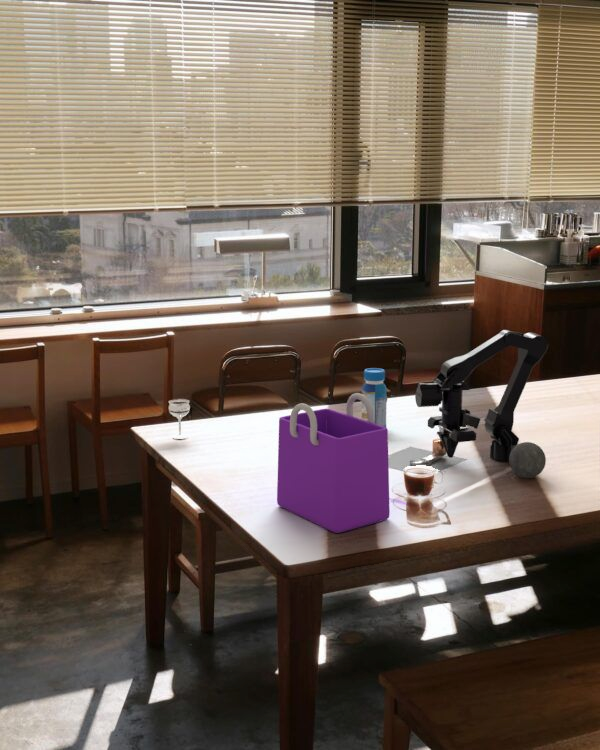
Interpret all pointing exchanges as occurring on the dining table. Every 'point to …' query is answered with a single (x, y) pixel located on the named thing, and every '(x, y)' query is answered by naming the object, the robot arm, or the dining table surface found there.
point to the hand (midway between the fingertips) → (450, 457)
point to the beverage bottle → (375, 395)
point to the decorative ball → (527, 460)
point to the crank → (437, 454)
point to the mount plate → (404, 456)
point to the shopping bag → (333, 467)
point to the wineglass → (179, 409)
